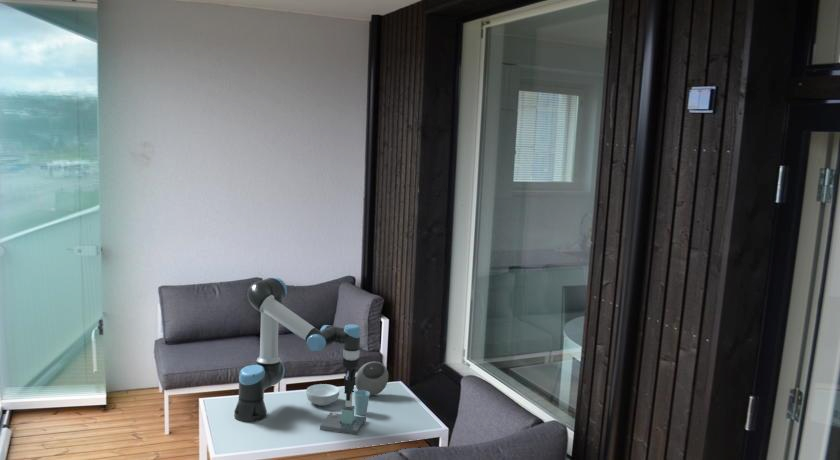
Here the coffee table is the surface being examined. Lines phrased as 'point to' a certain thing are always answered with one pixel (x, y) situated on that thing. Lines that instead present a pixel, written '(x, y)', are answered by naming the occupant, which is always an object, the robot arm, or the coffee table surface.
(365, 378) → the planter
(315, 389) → the cereal bowl
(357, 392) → the cup
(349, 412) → the plug
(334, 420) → the socket plate
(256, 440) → the coffee table surface
